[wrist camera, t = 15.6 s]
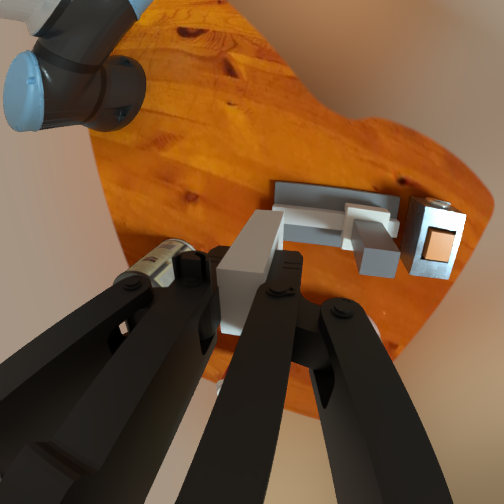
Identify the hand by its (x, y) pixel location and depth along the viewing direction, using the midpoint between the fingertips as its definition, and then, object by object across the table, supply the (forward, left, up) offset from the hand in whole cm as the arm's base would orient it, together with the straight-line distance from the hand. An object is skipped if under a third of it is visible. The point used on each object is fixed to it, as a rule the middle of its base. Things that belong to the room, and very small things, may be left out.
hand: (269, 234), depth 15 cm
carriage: (+6, +10, -26) cm, 29 cm away
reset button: (+6, +21, -24) cm, 32 cm away
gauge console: (+6, +21, -28) cm, 35 cm away
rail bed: (+6, +6, -28) cm, 29 cm away
